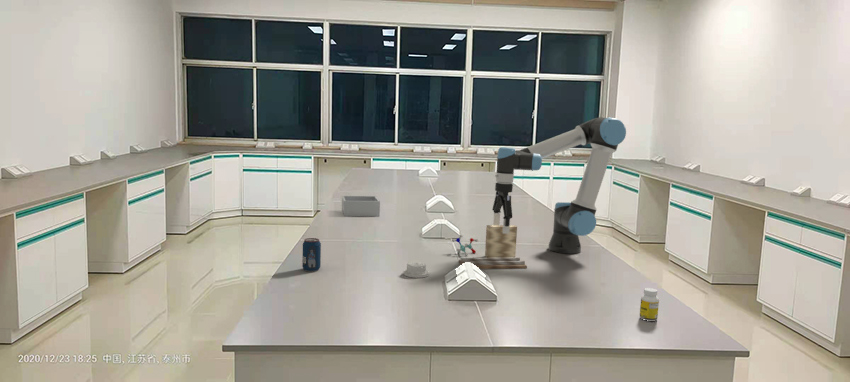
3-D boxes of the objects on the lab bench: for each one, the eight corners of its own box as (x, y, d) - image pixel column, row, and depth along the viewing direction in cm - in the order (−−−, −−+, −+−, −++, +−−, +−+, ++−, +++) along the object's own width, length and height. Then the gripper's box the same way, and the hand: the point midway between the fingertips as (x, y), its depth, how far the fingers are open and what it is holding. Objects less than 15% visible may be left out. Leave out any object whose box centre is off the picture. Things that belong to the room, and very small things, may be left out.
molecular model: (476, 250, 269) (467, 229, 272) (456, 259, 271) (448, 238, 274) (483, 252, 280) (474, 232, 283) (464, 261, 282) (456, 240, 285)
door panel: (512, 255, 277) (514, 225, 275) (515, 257, 273) (517, 226, 271) (484, 256, 274) (486, 225, 272) (487, 258, 271) (488, 226, 269)
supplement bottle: (636, 316, 199) (638, 287, 198) (652, 316, 199) (655, 287, 198) (643, 322, 193) (646, 292, 192) (660, 322, 194) (663, 292, 193)
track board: (516, 261, 267) (517, 256, 267) (526, 268, 255) (527, 263, 255) (458, 261, 262) (459, 256, 261) (466, 269, 250) (466, 263, 250)
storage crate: (375, 210, 384) (375, 196, 383) (379, 216, 364) (379, 201, 363) (341, 210, 380) (341, 195, 379) (343, 216, 360) (344, 201, 359)
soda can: (313, 266, 245) (314, 237, 243) (323, 270, 240) (324, 240, 238) (298, 269, 240) (299, 239, 238) (308, 273, 235) (309, 242, 233)
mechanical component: (424, 279, 233) (432, 273, 242) (424, 268, 232) (432, 262, 241) (399, 276, 236) (408, 270, 245) (399, 265, 235) (409, 259, 245)
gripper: (487, 179, 281) (484, 224, 283) (505, 186, 256) (501, 235, 259) (503, 179, 282) (500, 225, 285) (522, 186, 258) (518, 236, 261)
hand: (500, 230), depth 272 cm, fingers open, 13 cm apart
